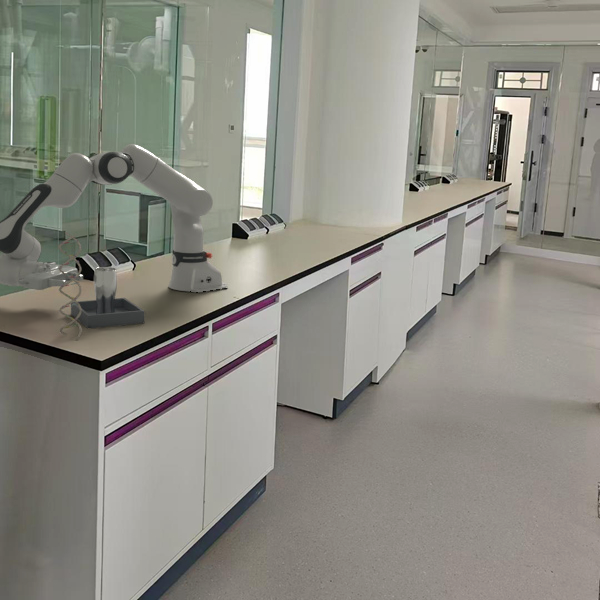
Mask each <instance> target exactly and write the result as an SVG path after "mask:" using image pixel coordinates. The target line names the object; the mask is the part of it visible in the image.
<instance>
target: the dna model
mask: <svg viewBox="0 0 600 600" xmlns="http://www.w3.org/2000/svg"><path fill="white" fill-rule="evenodd" d="M64 234H66V235H67V236H69V238H67V239H65V240H63V241H62V242H61V243H60V244H59V245H58V250H59V251H60V252H61V253H63V255H65V256H67V257H68V260H65V262H63V263H62V264H60V265H61V266H60V267H59V270H60V272H61V273H63V274H64V275H66V276H67V277H69V279H72V280H70V281H68V282H66V283H65V284H64V285H61V286H59V289H58V291H59V292H60V293H61V294H62V295H63V296H65V297H67V298H68V299H69V300H70V301H69V302H67V303H65V304H64V305H62V306H61V307H60V308H59V313H60V314H61V315H63V316H64V317H66V318H69V319H70V320H71V321H70V322H69V323H67V324H66V325H63V326H62V327H60V329H59V332H60V334H62V335H64V336H67V334H66V333H65V332H63V330H64V329H68V328H72V327H76V326H78V328H79V333H78V335H77V336H76V337H75V339H74V340H75V341H77V340H79V339H80V337H81V335H82V333H83V332H82V331H83V329H82V326H81V324H80V323H79V321H78V320H77V319H78V318H79V317H80V315H81V310H82V309H81V306H80V304H79V303H78V302H77V299H78V298H79V297H80V296H81V293H82V286H81V285H80V281H76V280H75V279H76V278H77V277H78V276H79V275H81V272H82V266H81V264H80V261H79V260H77V259H76V258H77V257H78V255H79V254H80V253H81V251H82V244H81V243H80V241H79V239H77V238H75V237H76V235H75V234H73V235H72V234H70V233H68V232H67V231H65V232H64ZM71 243H77V245H78V251H77V253H76V254H75V255H73V254H70V253H68V252H67V251H64V250H63V249H62V246H63V245H65V244H71ZM71 261H73V262H71ZM73 264H77V265H78V269H79V270H78V274H77V275H76V276H75V277H72V276H70V275H68V274H66V273H64V272H63V271H62V270H61V268H62V266H64V265H65V266H69V265H73ZM72 282H73V283H72ZM71 285H72V286H74V285H77V286H78V290H79V291H78V294H77V295H76V296H75V297H73V296H71V295H68V294H67V293H65V291H63V290H62V289H63V288H65V287H69V286H71ZM72 302H75V303H76V304H77V305H78V306H79V310H80V312H79V314H78V315H77V317H76V318H75V317H74V318H73V317H71V316H70V315H68V314H67V313H65V312H64V311H62V310H63V309H64V308H67V307H69V306H70V307H71V306H72V305H76V304H72V305H71V303H72ZM73 323H75V324H73ZM72 324H73V325H72Z"/></svg>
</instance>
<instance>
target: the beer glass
mask: <svg viewBox="0 0 600 600" xmlns="http://www.w3.org/2000/svg"><path fill="white" fill-rule="evenodd" d="M117 274H118V273H117V268H116V267H111V266H110V267H109V266H99V267H98V266H97V267H95V268H94V275H93V287H94V288H93V289H94V296H95V300H96V301H97V309H96V314H106V313H115V309H114V301H115V299H116V294H117V290H118V275H117Z"/></svg>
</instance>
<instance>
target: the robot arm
mask: <svg viewBox="0 0 600 600" xmlns="http://www.w3.org/2000/svg"><path fill="white" fill-rule="evenodd" d="M128 177H131V178H133V179H135V180H136V181H137V182H139V183H140V184H141V185H143V186H144V187H146V188H147V189H148V190H150V191H151V192H153V193H154V194H156V196H158V197H161V198H162V199H164V200H165V201H167V202H169V205H170V210H171V212H170V213H171V217H172V218H171V219H172V224H173V249H172V254H171V255H172V256H171V264H172V269H171V275H170V280H169V283H168V288H169V289H172V290H175V291H179V292H180V291H182V292H190V291H191V292H192V293H196V292H198V293H204V292H203V291H206V292H211V291H210V290H213V291H216V290H215V289H220V290H222V289H221V288H226V287H228V284H227V283H226V282H224V281H223V278H222V277H223V275H222V273H221V271H220V269H218V268H217V267H216V266H215V265H213V264H212V263H211V262H209V261H208V259H212V258H213V254H212V252H207V251H205V250H204V243H205V242H204V240H205V239H204V237H205V231H204V227H203V225H202V220H201V216H202V217H203V216H205V215H207V214H208V213H210V212H211V210H212V208H213V204H214V202H213V201H214V200H213V197H212V195H211V194H210V192H208V191H207V190H206V189H205V188H204V187H202V186H201V185H199V184H198V183H196V182H195V181H193V180H192V179H190V178H189V177H187V176H186V175H184V174H182V173H181V172H179V171H178V170H176V169H175V168H173V167H172V166H170V165H169V164H167V162H165V161H163V160H162V158H159V157H158V156H157V155H155V154H154V153H152V152H151V151H149V150H148V149H145V148H144V147H142V146H140V145H138V144H135V143H129V144H127V145H125V146H124V147H123V148H122V149H121V151H120V152H119V151H105V152H100V153H97V154H94V155H91V156H89V157H88V156H86V155H84V154H82V153H79V152H73V153H71V154H70V153H69V155H68V156H67V157H66V158H65V159H63V160H62V162H61V163H60V164H59V166H58V167H57V168H56V169H55V170H54V172H53V173H52V175H51V176H50V177H49V178H48V179H47V180H46V181H45V182H43V183H39V184H37V185H35V186H34V187H33V188H32V189H31V190H30V191H29V192H28V193H27V194H25V196H24V197H23V198H22V199H21V201H20V202H18V204H17V205H16V206H15V207H14V208H13V209H12V211H10V212H9V213H8V215H6V216H5V217H4V218H3V219H2V220H0V252H2V253H1V254H0V284H1V285H5V286H9V287H21V288H25V289H30V290H37V291H41V290H42V291H43V290H47V289H49V288H51V287H52V288H53V287H61V285H64V284H65V283H67V282H68V281H70V280H72V279H69V277H67V276H66V275H64V274H63V273H61V272H60V270H59V267H60V266H61V265H62V264H57V262H55V261H39V259H40V256H41V254H42V245H41V243H40V241H39V240H37V238H35V237H34V236H33V235H31V234H30V233H29V232H27V231H26V230H25V227H26V225H27V224H28V223H29V222H30V221H31V220H32V219H33V218H34V217H35V215H36V214H37V213H38V212H39V211H40V210H41V209H43V208H45V207H52V208H56V209H66V208H69V207H72V206H73V205H74V204H75V203H76V202H77V201H78V200H79V198H80V197H81V195H82V194H83V193H84V191H85V189H86V187H87V186H89V184H90V183H91V182H92V183H93V184H97V185H104V186H105V185H106V186H110V185H117V184H120V183H122V182H124V181H125V180H126V179H127V178H128ZM61 270H62V271H63V272H64V273H66V274H68V275H70V276H72V277H75V276H76V275H77V274H78V272H79V270H78V268H77V267H74V266H71V265H64V266H62V268H61ZM75 280H76V281H77V282H80V281H81V282H82V281H83V280H84V274H80V275H79V276H78V277H77V278H76V279H75ZM191 292H190V293H191Z"/></svg>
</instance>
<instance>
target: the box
mask: <svg viewBox="0 0 600 600" xmlns="http://www.w3.org/2000/svg"><path fill="white" fill-rule="evenodd" d="M76 301H77V300H76ZM77 302H78V303H79V304H80V306H81V309H82V310H81V315H80V317H79V318H78V319H77V320H76V321H77V322H80V323H81V325H83V326H86V327H85V328H87V329H88V328H91V329H98V328H97V327H101V328H107V327H106V326H111V327H119V325H121V326H128V325H127V324H131V325H137V324H136V323H141V324H144V323H145V310H144V309H143V308H141V307H140V306H138V305H136V304H135V303H134V302H131V300H129V299H127V298H126V297H119V298H116V297H115V301H114V309H115V313H106V314H96V309H97V301H96V299H93V300H80V301H79V300H78V301H77ZM72 304H76V303H75V302H74V301H73V302H72V303H71V304H70V314H71V316H73V317H74V319H75V318H76V317H77V315H78V314H79V312H80V310H79V306H78V305H77V304H76V305H72ZM71 305H72V306H71ZM143 322H144V323H143Z"/></svg>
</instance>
